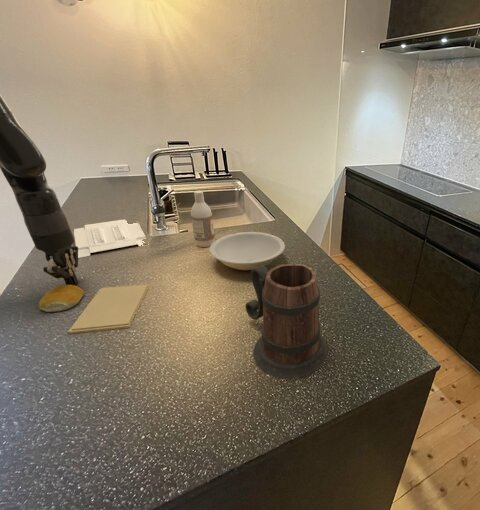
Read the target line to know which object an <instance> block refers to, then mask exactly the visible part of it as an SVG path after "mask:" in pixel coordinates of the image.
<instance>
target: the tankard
mask: <svg viewBox="0 0 480 510" xmlns="http://www.w3.org/2000/svg"><path fill="white" fill-rule="evenodd" d="M315 271H316V270H315V269H314V268H312V267H310V266H309V265H307V264H302V263H285V264H284V263H283V264H279V265H276V266H274V267H272V268H270V269H269V268H267V267H266V266H262V265H260V266H258V267H256V268H253V269H252V270H250V279H251V283H252V285H253V289H254V291H255V293H256V299H252V300H250V301H247V302H246V304H245V311H246V313H247V315H248V316H249V318H250V319H251V320H255V321H257V320H259V319H260V318H262V321H263V322H262V325H261V336H260V337H259V338H258V340H256V341H257V342H256V343H255V345H254V346H253V347H254V348H253V359H254V362H255V364H256V366H257V367H258V368H259V369H260V370H261V371H262V372H264V373H265V374H266V375H269V376H271V377H274V378H277V379H285V380H286V379H290V380H291V379H299V378H302V377H306V376H308V375H310V374H312V373H314V372H315V371H318V369H320V368H321V366H322V365H323V364H324V363H325V360H326V359H327V356H328V348H329V347H328V344H327V342H326V340H325V338H324V336H322V334H321V325H320V301H321V290H320V287H319V284H318V279H317V273H316V272H315Z"/></svg>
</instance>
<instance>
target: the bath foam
mask: <svg viewBox="0 0 480 510" xmlns="http://www.w3.org/2000/svg"><path fill="white" fill-rule="evenodd" d="M193 195H194V203H193V205H192V207H191V210H190V218H191V225H192V232H193V237H194V238H193V239H194V244H195V246H197V247H198V248H199V247H200V248H208V247H209V248H210V246H211V244H212V243H213V242H214V241H216V236H215V227H214V220H213V219H214V218H213V212H212V210H211V208H210V206H209V205H208V203H207V202H205V197H204V191H203V190H194V191H193Z"/></svg>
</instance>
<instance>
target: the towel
mask: <svg viewBox="0 0 480 510" xmlns="http://www.w3.org/2000/svg"><path fill="white" fill-rule="evenodd" d="M149 289H150V284H138V285H124V286H123V285H122V286H109V287H101V288H99V290H98V291H97V292H96V293H95V295H94V296H93V298H92V299H91V300H90V302H89V303H88V304H87V305H86V306H85V308H84V310H83V311H82V312H81V313H80V315H79V316H78V318H77V319H76V320H75V322H74V323H73V325H71V327H70V328H69V329H68V331H67V334H68V335H72V334H82V333H93V332H100V331H111V330H112V331H113V330H120V329H121V330H122V329H129V328H130V326H131V325H132V323H133V321H134V319H135V316H136V315H137V313H138V310H139V308H140V307H141V305H142V303H143V302H144V301H143V300H144V298H145V297H146V295H147V293H148V291H149Z"/></svg>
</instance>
